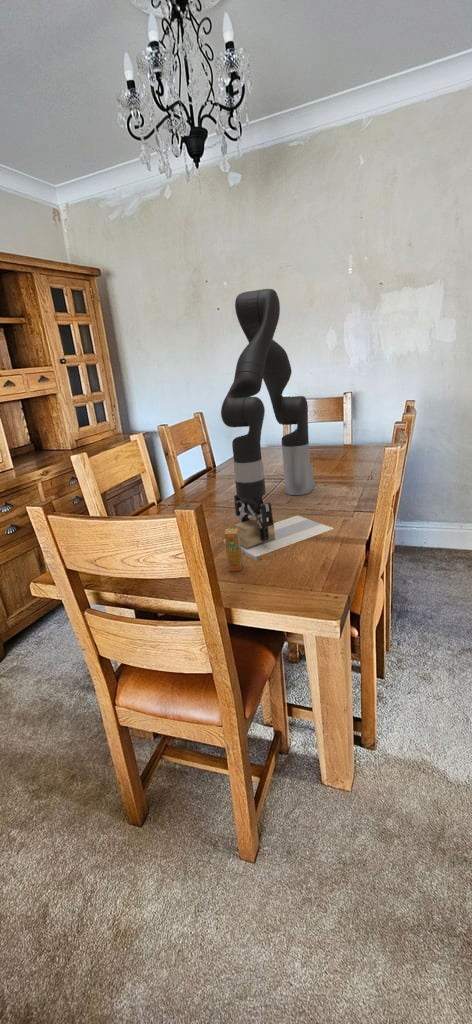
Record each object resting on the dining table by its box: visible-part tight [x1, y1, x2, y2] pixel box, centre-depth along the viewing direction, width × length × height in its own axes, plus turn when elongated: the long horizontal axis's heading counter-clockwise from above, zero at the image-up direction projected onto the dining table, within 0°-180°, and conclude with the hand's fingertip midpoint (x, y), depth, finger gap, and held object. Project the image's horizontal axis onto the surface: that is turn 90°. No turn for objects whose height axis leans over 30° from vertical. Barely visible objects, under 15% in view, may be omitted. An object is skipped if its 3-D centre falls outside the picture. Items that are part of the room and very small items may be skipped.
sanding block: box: [234, 518, 275, 549], centre depth 127 cm, size 9×5×6 cm, turn 122°
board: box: [222, 514, 334, 562], centre depth 131 cm, size 26×16×1 cm, turn 122°
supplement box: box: [224, 528, 244, 572], centre depth 115 cm, size 3×3×10 cm
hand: (255, 536), depth 127 cm, fingers open, 8 cm apart
